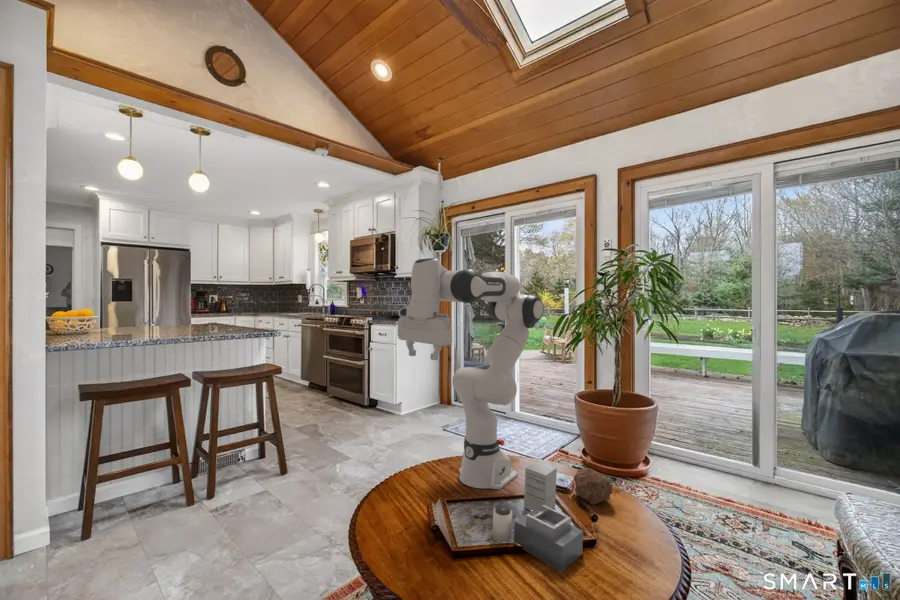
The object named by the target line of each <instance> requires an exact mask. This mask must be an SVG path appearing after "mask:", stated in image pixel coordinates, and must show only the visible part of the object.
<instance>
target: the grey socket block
mask: <svg viewBox="0 0 900 600" xmlns="http://www.w3.org/2000/svg"><path fill="white" fill-rule="evenodd" d="M513 529H514V530H513V544H514V543H518V544H520V545H522V546H523V549H522V550H523V551H524V552H527V554H530V555H532V556H534V557H535V558H537V559H538V560H540V561H541V562H543V563H545V564H547V565H549V566H550V567H552V568H554V569H556V570H557V571H559V572H560V573H563V571H565V570H566V569H567V568H568V567H570V566H571V565H572V564H574V562H575V561H576V560H578V559H579V558H580V557H582V556H583V548H584V547H583V545H584V544H583V542H584V530H582V529H580V528H579V527H578V528H577V527H576V526H574V525H572V517H571V516H568V515H567V514H565V513H562V512H560V511H558V510H556V509H555V508H554V509H552V508H550V507H547V506H545V505H543V506H542V511H541V510H538V509H535V510H533V511H529V512H528V513H526V514H524V515H523V516H521V517H520V518H518V519H516V520H514V526H513Z"/></svg>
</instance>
